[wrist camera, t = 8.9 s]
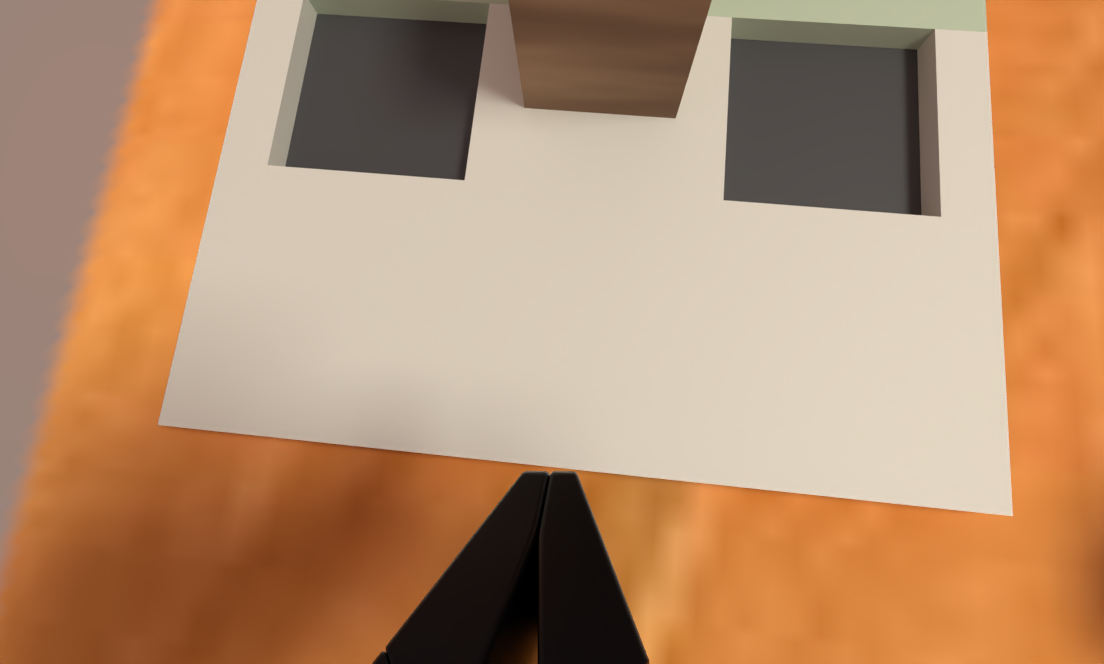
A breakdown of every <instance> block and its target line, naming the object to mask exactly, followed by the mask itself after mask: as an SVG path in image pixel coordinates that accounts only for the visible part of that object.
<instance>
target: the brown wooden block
mask: <svg viewBox="0 0 1104 664" xmlns="http://www.w3.org/2000/svg"><path fill="white" fill-rule="evenodd" d="M508 1H509V8H510V14H511V21H512V28H513V34H514V41H515V47H516V54H517V61H518V67H519V74H520V81H521V87H522V94H523V100H524V107H525V108H532V109H546V110H561V111H575V112H590V113H604V114H618V115H633V116H647V117H662V118H676V116H677V113H678V109H679V106H680V103H681V99H682V96H683V93H684V90H685V86H686V83H687V80H688V77H689V73H690V70H691V67H692V63H693V60H694V57H695V54H696V50H697V47H698V44H699V41H700V37H701V34H702V31H703V27H704V24H705V21H706V18H707V14H708V11H709V8H710V5H711V1H712V0H508Z"/></svg>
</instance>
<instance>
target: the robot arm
mask: <svg viewBox="0 0 1104 664" xmlns="http://www.w3.org/2000/svg"><path fill="white" fill-rule="evenodd" d="M386 653H387V654H386ZM372 664H649V659H648V656H647V654H646V651H645V649H644V646H643V643H642V641H641V638H640V636H639V633H638V630H637V628H636V625H635V623H634V620H633V617H632V615H631V612H630V610H629V607H628V604H627V602H626V599H625V597H624V594H623V591H622V589H621V586H620V584H619V581H618V578H617V576H616V573H615V571H614V568H613V565H612V563H611V560H610V558H609V555H608V552H607V550H606V547H605V545H604V542H603V539H602V537H601V534H600V532H599V529H598V526H597V524H596V521H595V519H594V516H593V513H592V511H591V508H590V506H589V503H588V500H587V498H586V495H585V493H584V490H583V487H582V485H581V482H580V480H579V477H578V475H577V473H575V472H573V471H554V472H552V473H551V475H550V474H549V473H548V472H546V471H526V472H524V473H522V474H521V475H520V477H519V478H518V479H517V480H516V482H515V483H514V484H513V486H512V487H511V488H510V489H509V491H508V492H507V493H506V494H505V496H504V497H503V498H502V500H501V501H500V502H499V503H498V505H497V506H496V507H495V508H494V510H493V511H492V512H491V514H490V515H489V516H488V517H487V519H486V520H485V521H484V522H483V524H482V525H481V526H480V528H479V529H478V530H477V531H476V533H475V534H474V535H473V536H472V538H471V539H470V540H469V542H468V543H467V544H466V545H465V547H464V548H463V549H462V550H461V552H460V553H459V554H458V556H457V557H456V558H455V559H454V561H453V562H452V563H451V564H450V566H449V567H448V568H447V570H446V571H445V572H444V573H443V575H442V576H441V577H440V578H439V580H438V581H437V582H436V584H435V585H434V586H433V587H432V589H431V590H430V591H429V592H428V594H427V595H426V596H425V598H424V599H423V600H422V601H421V603H420V604H419V605H418V606H417V608H416V609H415V610H414V612H413V613H412V614H411V615H410V617H409V618H408V619H407V620H406V622H405V623H404V624H403V626H402V627H401V628H400V629H399V631H398V632H397V633H396V634H395V636H394V637H393V638H392V640H391V641H390V642H389V643H388V645H387V646H386V652H381V653H380V654H379V656H378V657H377V658H376V659H375V661H374V662H373V663H372Z"/></svg>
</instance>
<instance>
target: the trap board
mask: <svg viewBox="0 0 1104 664" xmlns="http://www.w3.org/2000/svg"><path fill="white" fill-rule="evenodd" d="M158 425H162V426H172V427H181V428H191V429H200V430H209V431H219V432H228V433H238V434H247V435H256V436H266V437H275V438H284V439H294V440H303V441H313V442H322V443H331V444H341V445H350V446H359V447H369V448H378V449H388V450H397V451H406V452H416V453H425V454H435V455H444V456H453V457H463V458H472V459H481V460H491V461H500V462H510V463H519V464H528V465H538V466H547V467H557V468H566V469H575V470H585V471H594V472H603V473H613V474H622V475H632V476H641V477H650V478H660V479H669V480H679V481H688V482H697V483H707V484H716V485H725V486H735V487H744V488H754V489H763V490H772V491H782V492H791V493H800V494H810V495H819V496H829V497H838V498H847V499H857V500H866V501H876V502H885V503H894V504H904V505H913V506H922V507H932V508H941V509H951V510H960V511H969V512H979V513H988V514H998V515H1007V516H1013V511H1012V492H1011V473H1010V454H1009V435H1008V416H1007V397H1006V378H1005V360H1004V341H1003V322H1002V303H1001V284H1000V265H999V246H998V227H997V208H996V190H995V171H994V152H993V133H992V114H991V95H990V76H989V57H988V38H987V19H986V1H985V0H712V1H711V5H710V8H709V11H708V14H707V18H706V21H705V24H704V27H703V31H702V34H701V37H700V41H699V44H698V47H697V50H696V54H695V57H694V60H693V63H692V67H691V70H690V73H689V77H688V80H687V83H686V86H685V90H684V93H683V96H682V99H681V103H680V106H679V109H678V113H677V116H676V118H662V117H647V116H633V115H618V114H604V113H590V112H575V111H561V110H546V109H532V108H525V107H524V100H523V94H522V87H521V81H520V74H519V67H518V61H517V54H516V47H515V41H514V34H513V28H512V21H511V14H510V8H509V1H508V0H257V3H256V7H255V11H254V15H253V20H252V24H251V28H250V33H249V37H248V41H247V45H246V50H245V54H244V58H243V62H242V67H241V71H240V75H239V80H238V84H237V88H236V92H235V97H234V101H233V105H232V110H231V114H230V118H229V122H228V127H227V131H226V135H225V139H224V144H223V148H222V152H221V157H220V161H219V165H218V169H217V174H216V178H215V182H214V187H213V191H212V195H211V199H210V204H209V208H208V212H207V216H206V221H205V225H204V229H203V234H202V238H201V242H200V246H199V251H198V255H197V259H196V264H195V268H194V272H193V276H192V281H191V285H190V289H189V294H188V298H187V302H186V306H185V311H184V315H183V319H182V323H181V328H180V332H179V336H178V341H177V345H176V349H175V353H174V358H173V362H172V366H171V371H170V375H169V379H168V383H167V388H166V392H165V396H164V401H163V405H162V409H161V413H160V418H159V422H158Z"/></svg>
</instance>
